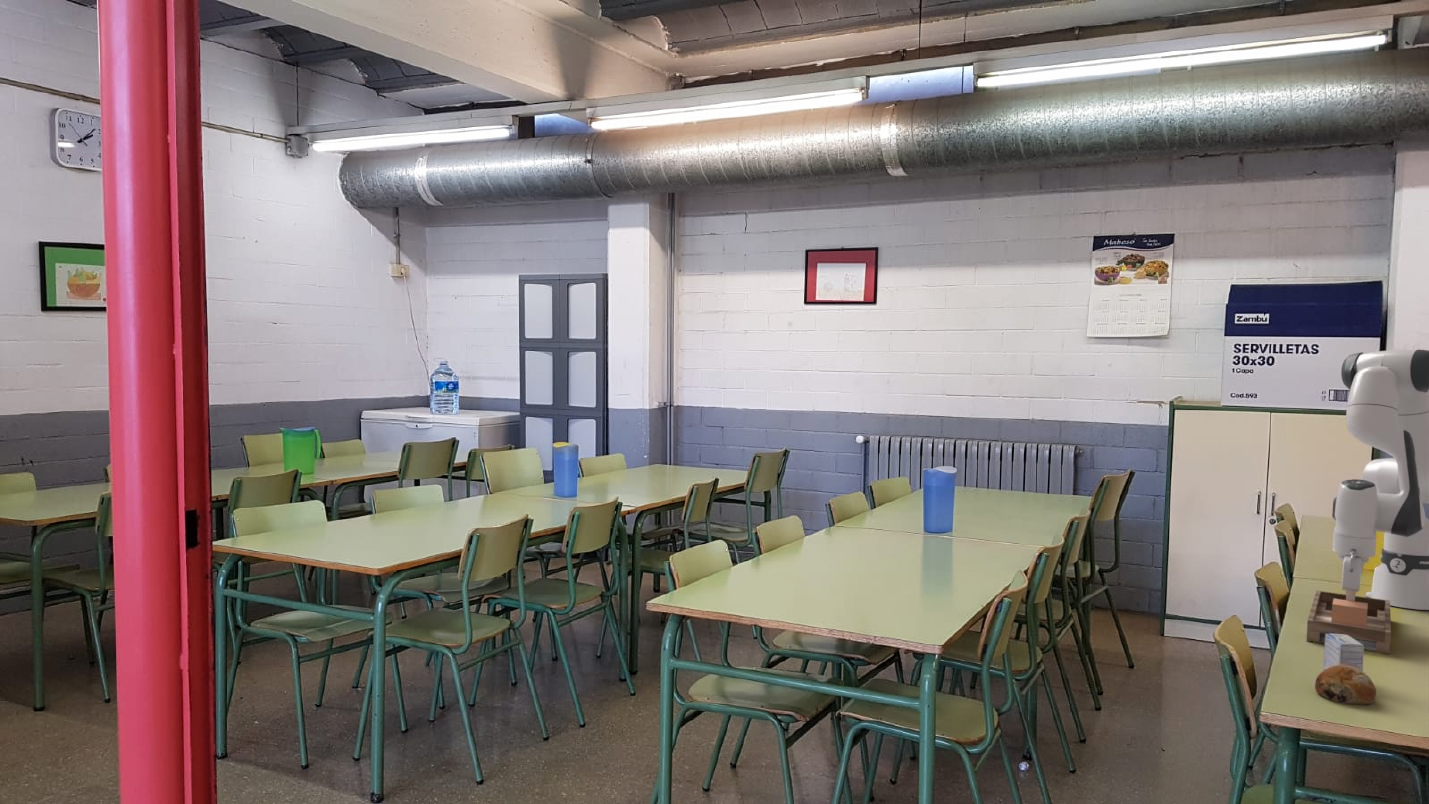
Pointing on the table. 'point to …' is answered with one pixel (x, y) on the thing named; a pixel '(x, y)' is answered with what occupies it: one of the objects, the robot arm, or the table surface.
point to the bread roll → (1345, 685)
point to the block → (1349, 612)
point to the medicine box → (1342, 651)
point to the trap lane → (1370, 637)
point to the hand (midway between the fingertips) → (1350, 602)
